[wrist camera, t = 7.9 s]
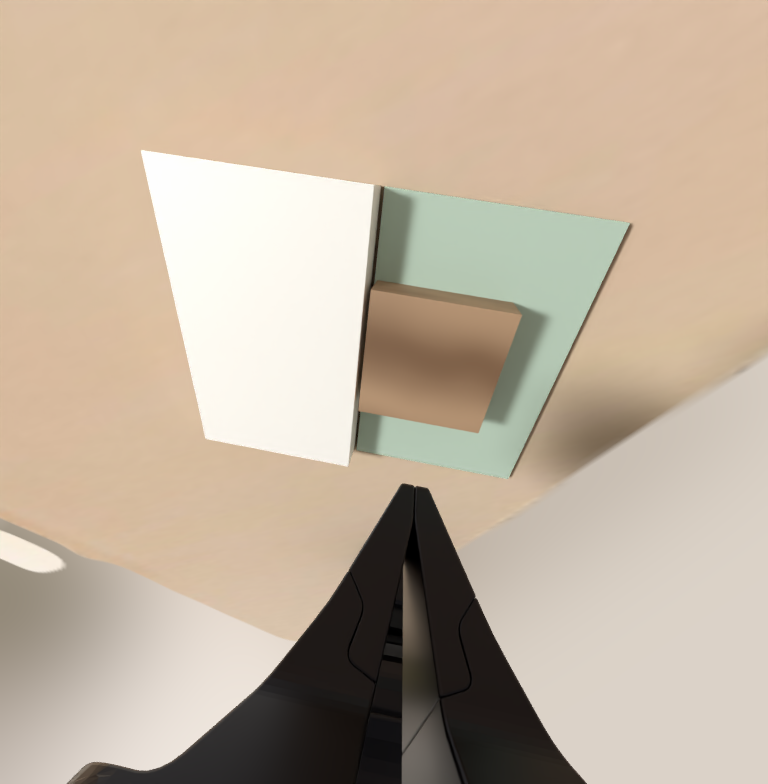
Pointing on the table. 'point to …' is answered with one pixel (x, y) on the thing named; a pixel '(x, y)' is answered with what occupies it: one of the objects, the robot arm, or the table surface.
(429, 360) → the tile
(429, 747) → the robot arm
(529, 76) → the table surface
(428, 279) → the mat
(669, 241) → the table surface
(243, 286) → the plate
